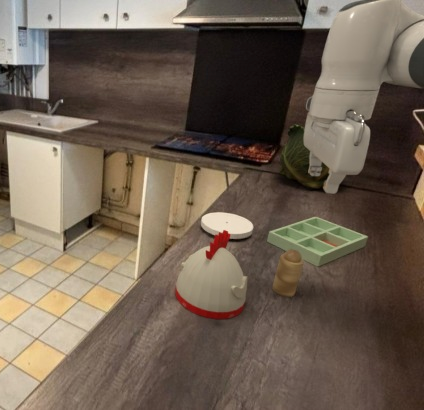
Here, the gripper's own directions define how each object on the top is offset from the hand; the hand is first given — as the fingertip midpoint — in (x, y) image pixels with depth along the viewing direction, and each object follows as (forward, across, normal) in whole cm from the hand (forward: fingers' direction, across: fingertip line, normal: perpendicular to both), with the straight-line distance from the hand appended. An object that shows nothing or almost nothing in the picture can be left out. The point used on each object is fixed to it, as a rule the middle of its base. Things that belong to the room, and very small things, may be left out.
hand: (320, 183), depth 66 cm
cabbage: (+26, +79, -22) cm, 86 cm away
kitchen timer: (+25, -5, +17) cm, 31 cm away
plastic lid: (+25, +28, +12) cm, 39 cm away
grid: (+26, +26, -11) cm, 38 cm away
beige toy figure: (+25, +2, +1) cm, 25 cm away
